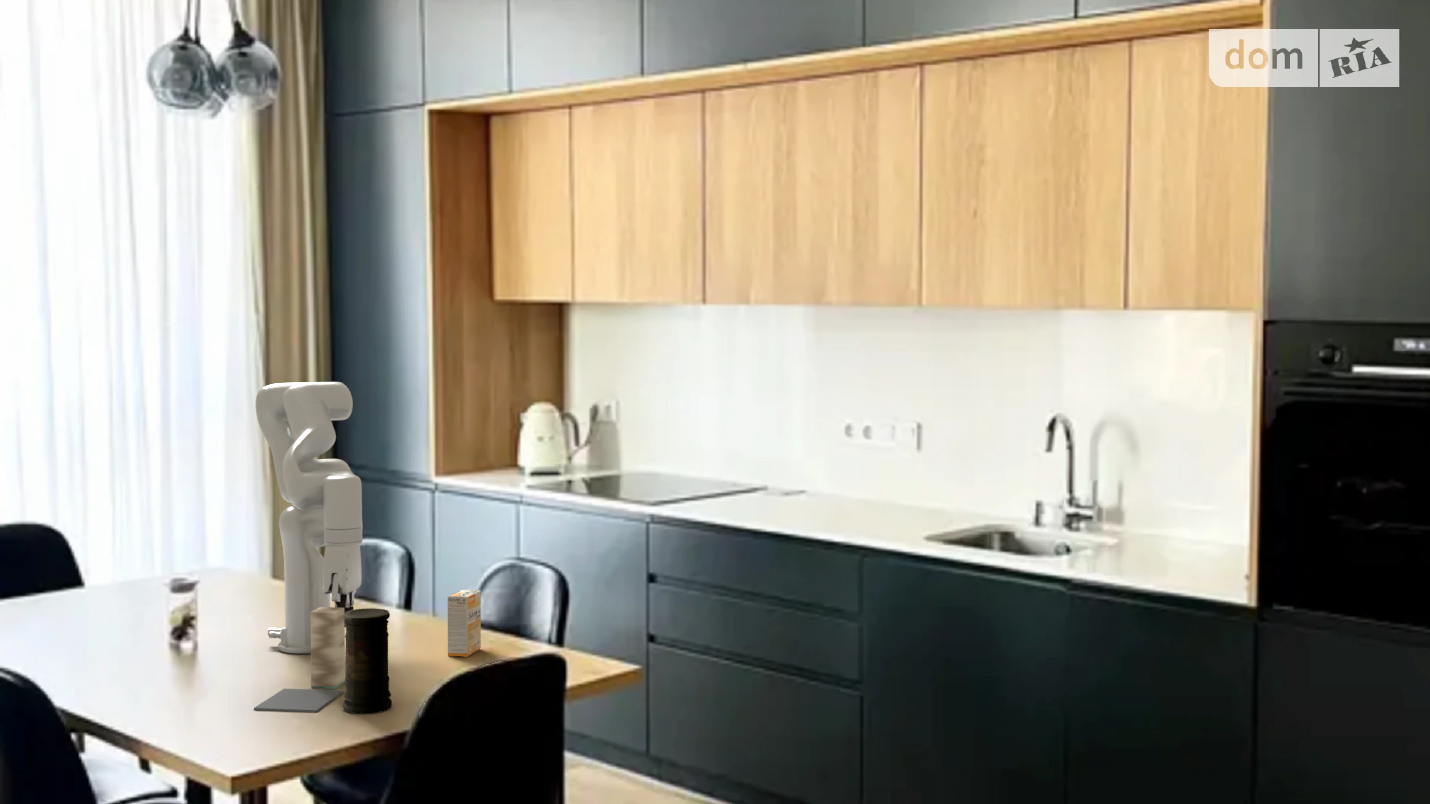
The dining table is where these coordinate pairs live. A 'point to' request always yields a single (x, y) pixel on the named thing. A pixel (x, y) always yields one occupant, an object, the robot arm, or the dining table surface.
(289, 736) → the dining table surface
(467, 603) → the supplement box
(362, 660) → the container
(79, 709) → the dining table surface
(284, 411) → the robot arm
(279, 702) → the mat
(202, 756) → the dining table surface
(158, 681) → the dining table surface
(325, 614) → the beige patterned box
